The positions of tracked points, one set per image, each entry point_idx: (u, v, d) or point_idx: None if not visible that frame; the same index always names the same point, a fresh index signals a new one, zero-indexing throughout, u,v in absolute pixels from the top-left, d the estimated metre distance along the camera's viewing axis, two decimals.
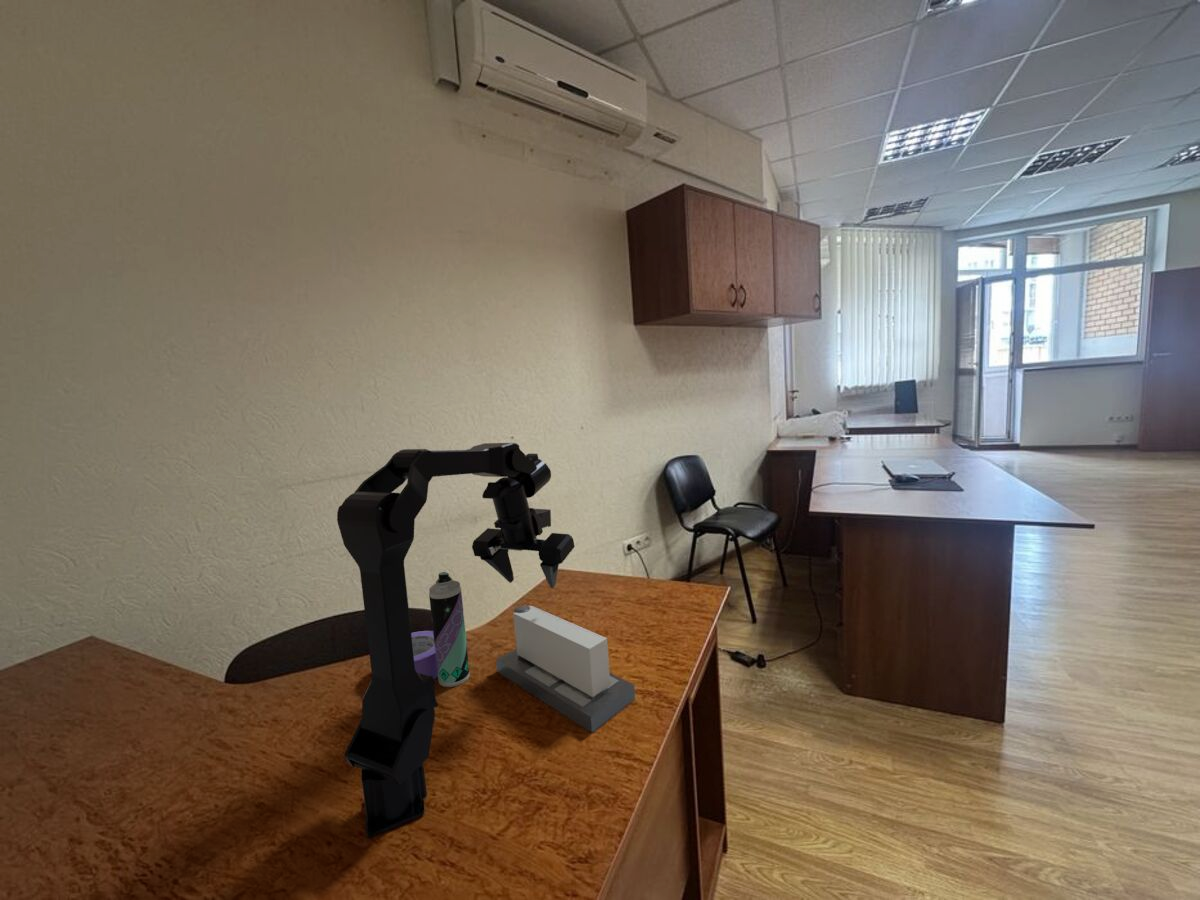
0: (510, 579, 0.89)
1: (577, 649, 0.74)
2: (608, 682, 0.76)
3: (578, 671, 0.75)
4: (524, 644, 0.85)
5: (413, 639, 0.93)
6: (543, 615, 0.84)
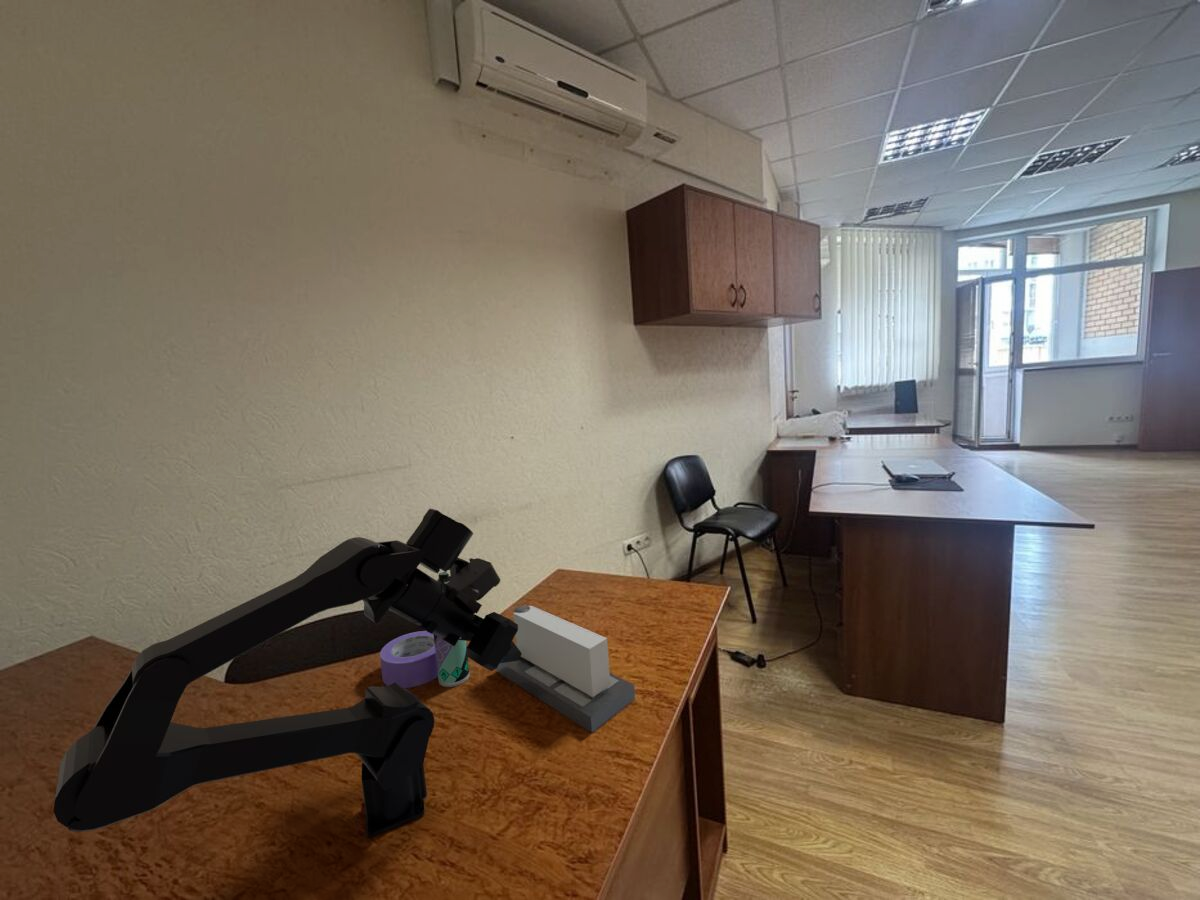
0: None
1: (577, 649, 0.74)
2: (608, 682, 0.76)
3: (578, 671, 0.75)
4: (524, 644, 0.85)
5: (413, 639, 0.93)
6: (543, 615, 0.84)
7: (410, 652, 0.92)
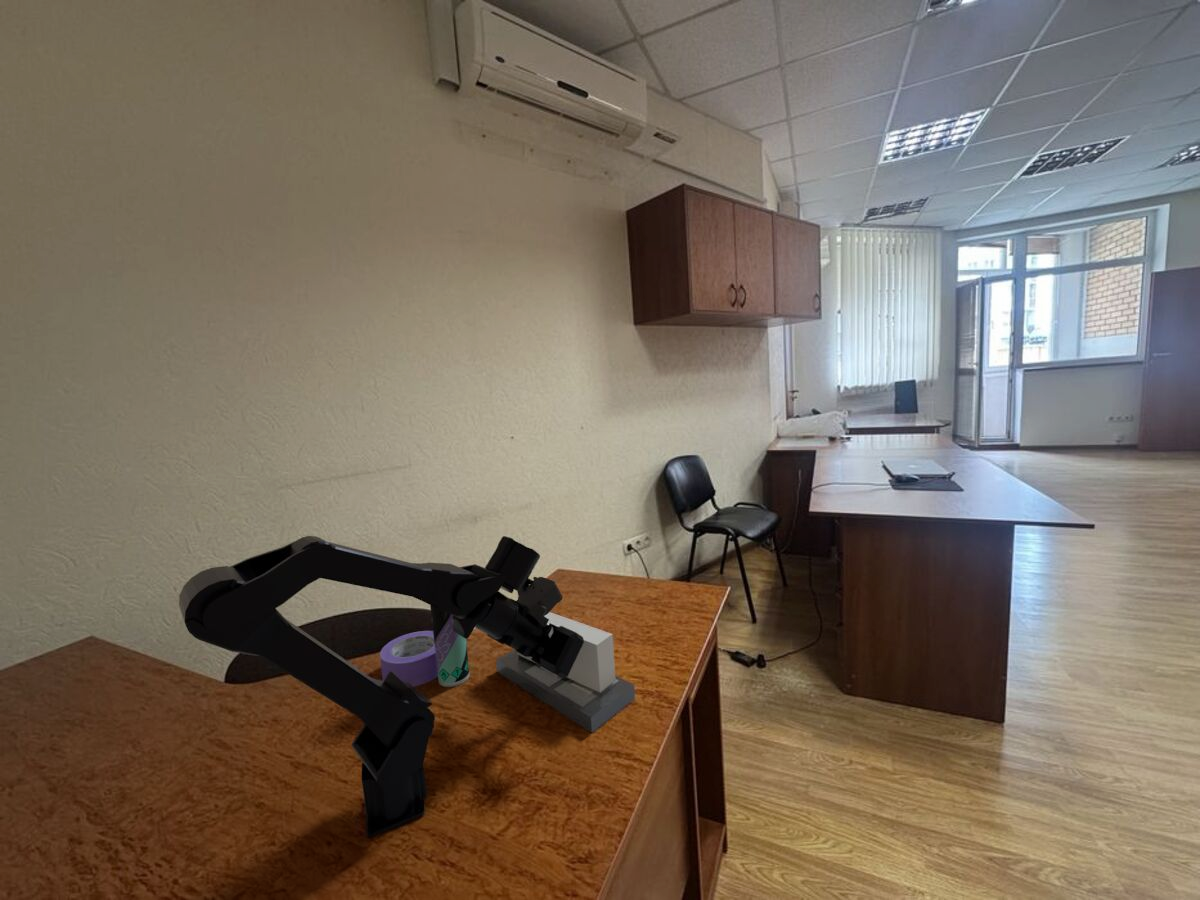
0: None
1: (584, 646, 0.75)
2: (613, 677, 0.77)
3: (584, 668, 0.76)
4: None
5: (413, 639, 0.93)
6: None
7: (410, 652, 0.92)
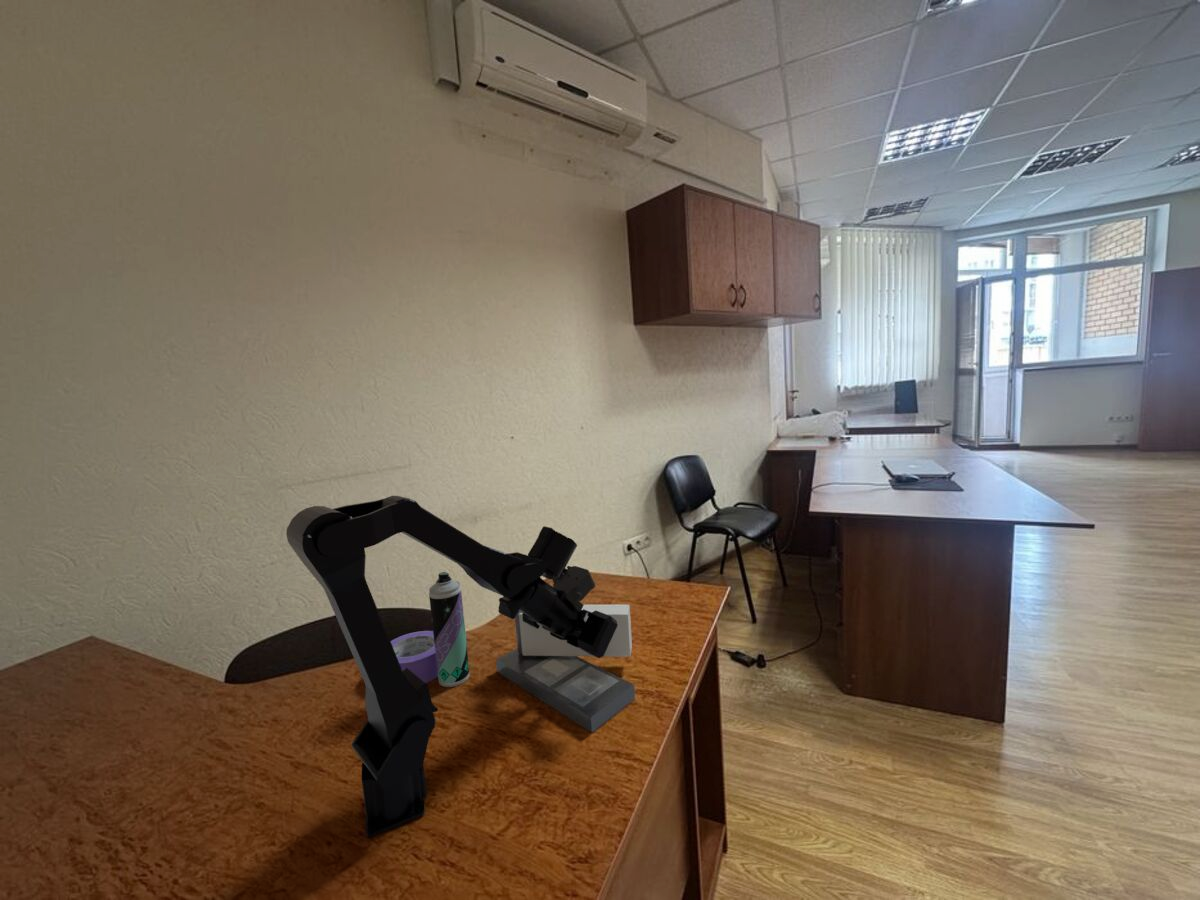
0: None
1: None
2: (631, 643, 0.87)
3: (612, 640, 0.84)
4: (534, 641, 0.86)
5: (413, 639, 0.93)
6: None
7: (410, 652, 0.92)
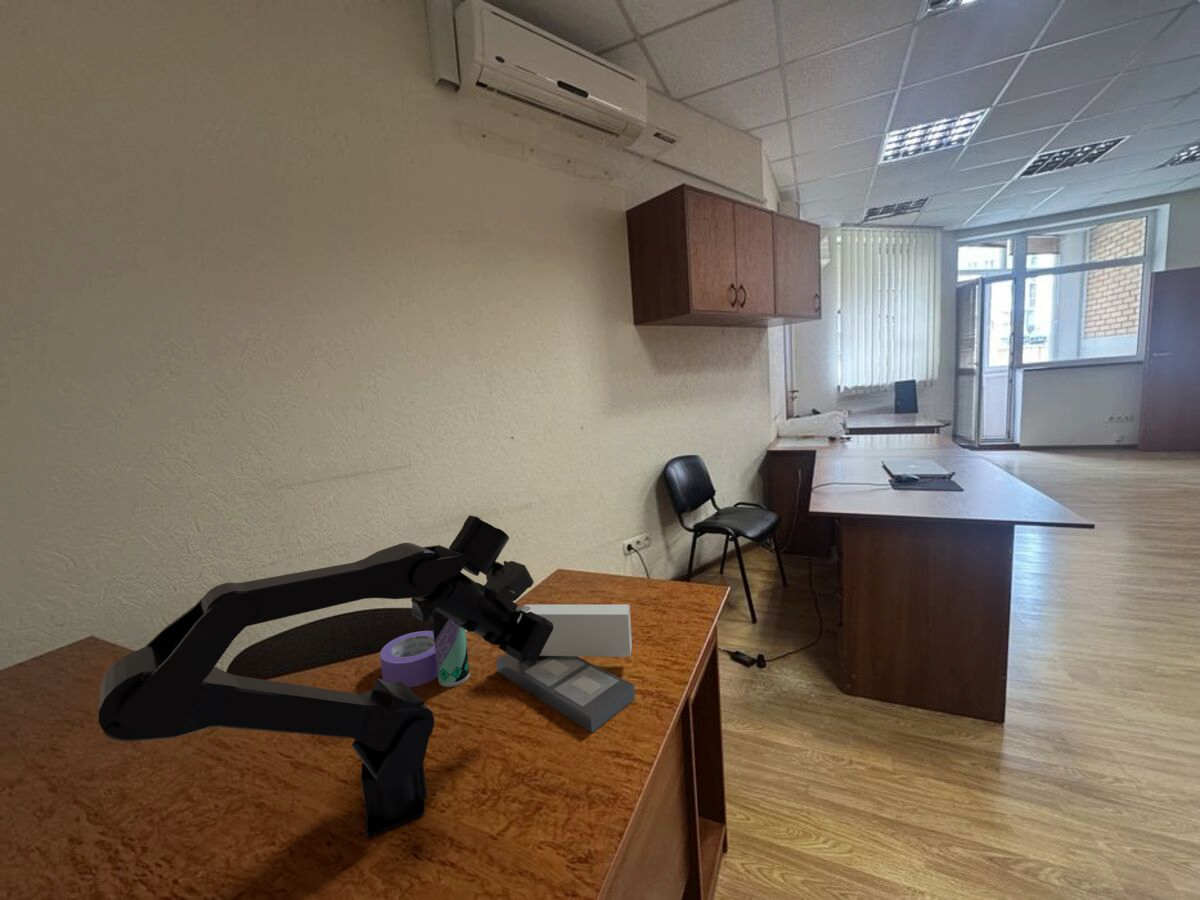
0: None
1: (612, 620, 0.83)
2: (631, 643, 0.87)
3: (612, 640, 0.84)
4: None
5: (413, 639, 0.93)
6: (550, 607, 0.88)
7: (410, 652, 0.92)
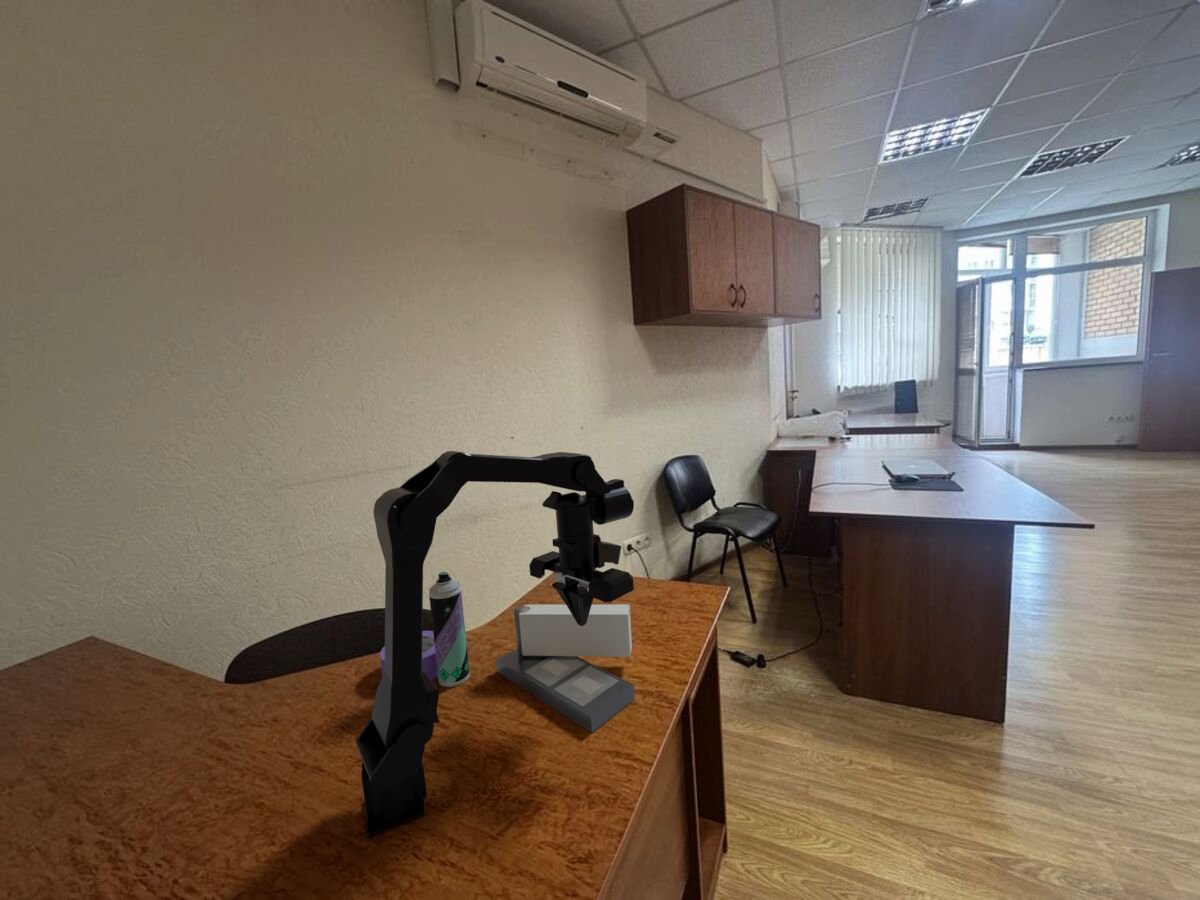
0: None
1: (612, 620, 0.83)
2: (631, 643, 0.87)
3: (612, 640, 0.84)
4: (534, 641, 0.86)
5: None
6: (550, 607, 0.88)
7: None
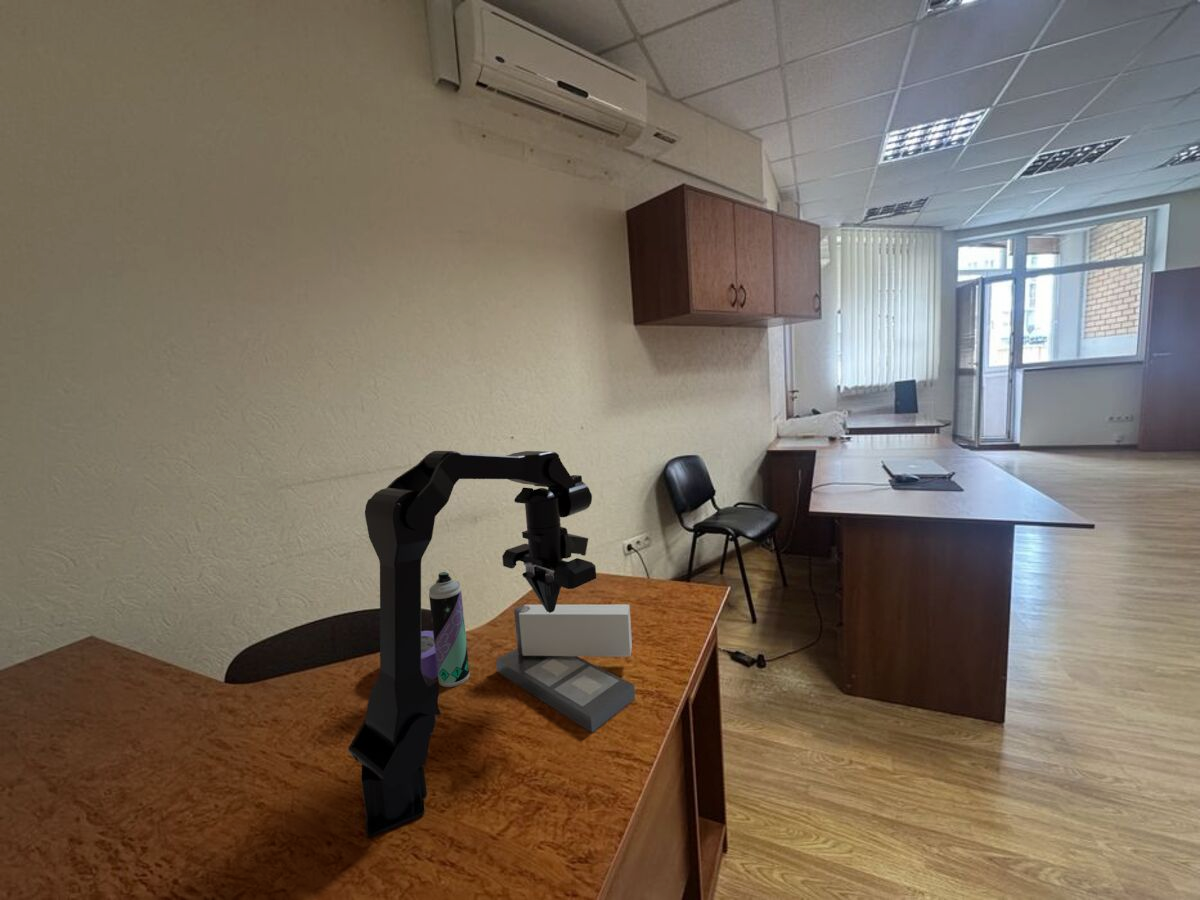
0: None
1: (612, 620, 0.83)
2: (631, 643, 0.87)
3: (612, 640, 0.84)
4: (534, 641, 0.86)
5: None
6: None
7: None
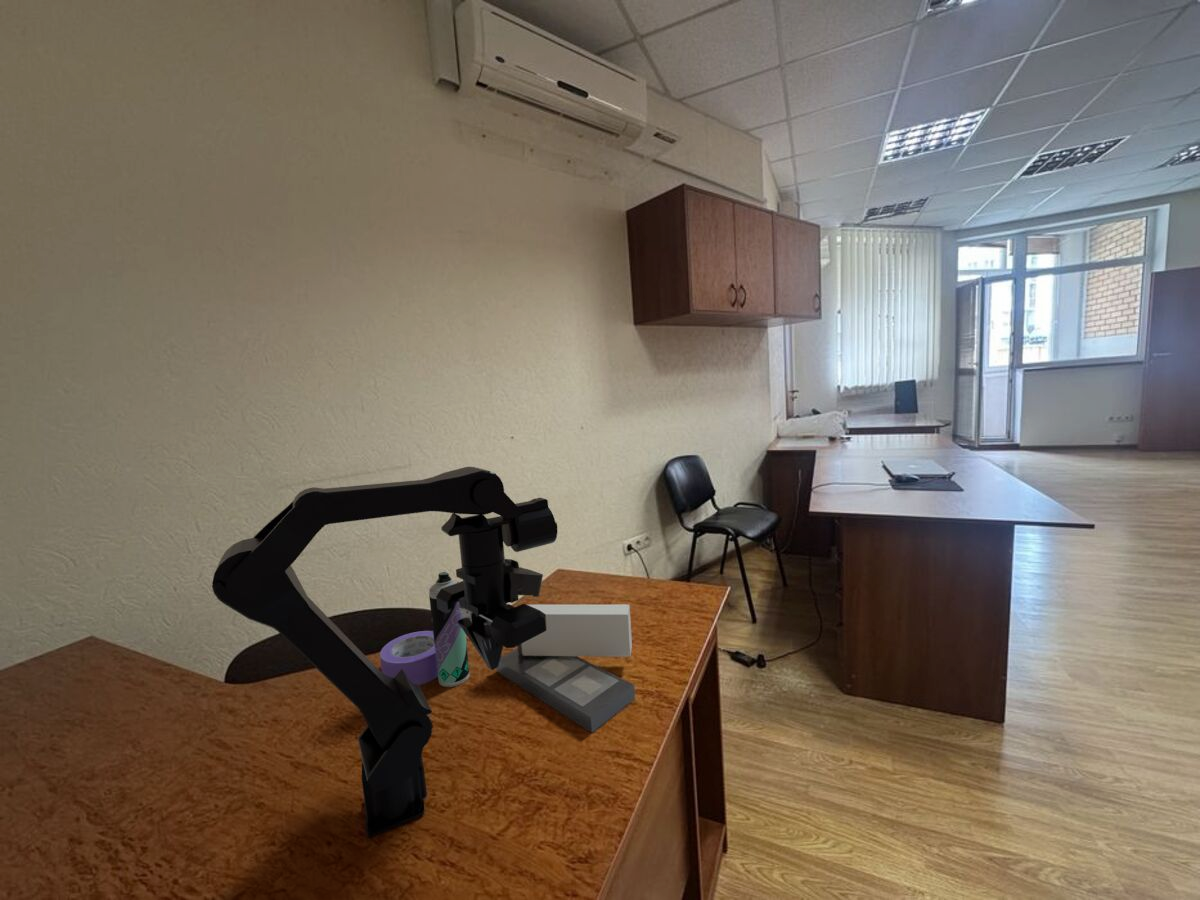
0: None
1: (612, 620, 0.83)
2: (631, 643, 0.87)
3: (612, 640, 0.84)
4: (534, 641, 0.86)
5: (413, 639, 0.93)
6: (550, 607, 0.88)
7: (410, 652, 0.92)
